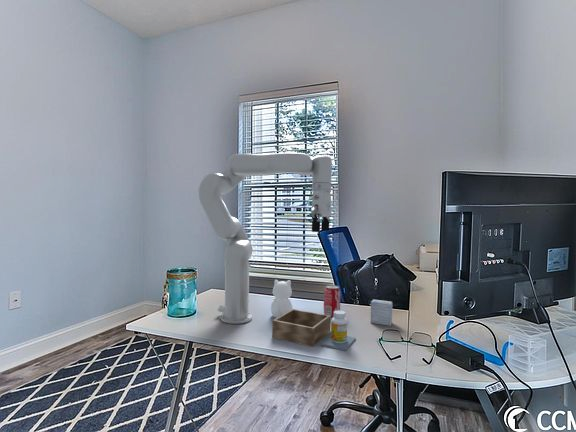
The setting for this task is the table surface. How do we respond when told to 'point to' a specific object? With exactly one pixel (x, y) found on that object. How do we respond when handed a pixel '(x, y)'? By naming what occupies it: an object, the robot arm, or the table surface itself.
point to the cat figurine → (281, 298)
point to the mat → (339, 345)
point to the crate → (301, 327)
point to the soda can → (331, 299)
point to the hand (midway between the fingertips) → (320, 231)
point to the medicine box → (381, 312)
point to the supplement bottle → (339, 327)
